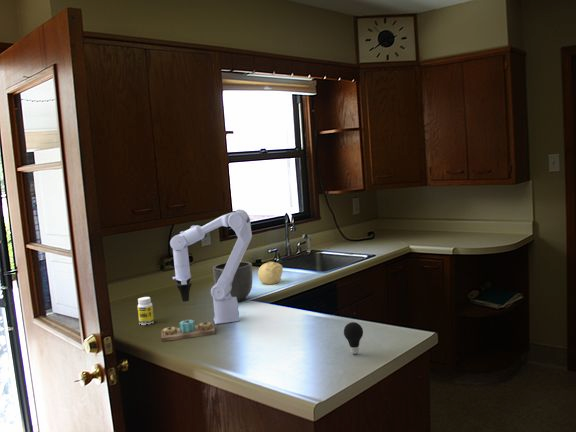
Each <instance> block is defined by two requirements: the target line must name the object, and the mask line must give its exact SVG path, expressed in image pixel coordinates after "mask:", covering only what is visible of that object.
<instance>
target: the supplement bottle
mask: <svg viewBox="0 0 576 432" xmlns="http://www.w3.org/2000/svg"><path fill="white" fill-rule="evenodd" d="M137 303H138V304H137V313H138V314H137V315H138V324H139V325H140V324H141V326H147V325H146V324H148V325H152V324H154V322H155V319H154V318H155V316H154V309H153V308H154V307H153V303H152V299H151V297H150V296H143V297H139V298H137ZM151 323H152V324H151Z"/></svg>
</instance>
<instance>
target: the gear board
mask: <svg viewBox="0 0 576 432" xmlns="http://www.w3.org/2000/svg"><path fill="white" fill-rule="evenodd" d="M185 320H186V321H185ZM185 320H184V321H185V323H188V322H189V321H188V320H189V319H185ZM214 334H216V329H215V326H214V323H213V322H212V321H203V322H199V324H195V330H194V331H191V332H188V333H187V332H184V333H182V332H180V327H176V326H167V327H164V328H163V329H161V334H160V335H161V342H168V341H175V340H182V339H188V338H196V337H202V336H208V335H214Z"/></svg>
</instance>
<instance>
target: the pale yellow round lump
mask: <svg viewBox="0 0 576 432" xmlns="http://www.w3.org/2000/svg"><path fill="white" fill-rule="evenodd" d="M283 269H284V267H283V265H282V264H280V263H279V262H275V261H267V262H266V263H263V264H262V265H261V266H260V267H259V268H258V272H257V278H258V280H259V281H260V283H262V284H265V285H274V284H278V283H279V282H280V281H281V279H282V275H283Z"/></svg>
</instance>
